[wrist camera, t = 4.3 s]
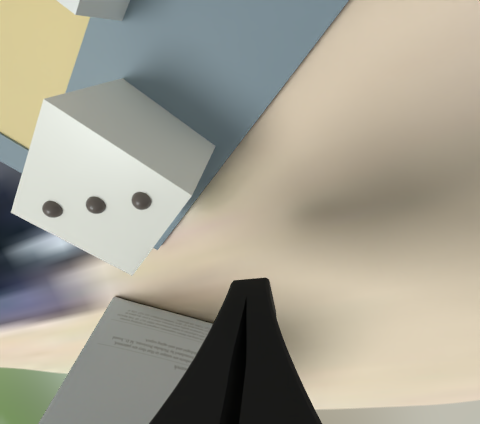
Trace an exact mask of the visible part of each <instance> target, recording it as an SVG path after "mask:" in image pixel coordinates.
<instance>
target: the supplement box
mask: <svg viewBox="0 0 480 424" xmlns="http://www.w3.org/2000/svg"><path fill="white" fill-rule="evenodd" d="M212 325H213V324H212V323H208V322H205V321H201V320H197V319H194V318H190V317H186V316H183V315H179V314H175V313H172V312H168V311H164V310H161V309H157V308H153V307H150V306H146V305H142V304H138V303H135V302H131V301H127V300H124V299H121V298H118V297H114V298H113V299H112V301H111V302H110V304H109V306H108V307H107V309H106V311H105V312H104V314H103V316H102V318H101V319H100V321H99V323H98V324H97V326H96V328H95V329H94V331H93V333H92V334H91V336H90V338H89V339H88V341H87V343H86V345H85V346H84V348H83V350H82V351H81V353H80V355H79V356H78V358H77V360H76V361H75V363H74V365H73V366H72V368H71V370H70V371H69V373H68V375H67V377H66V378H65V380H64V382H63V383H62V385H61V387H60V388H59V390H58V392H57V393H56V395H55V397H54V398H53V400H52V402H51V403H50V405H49V407H48V408H47V410H46V412H45V414H44V415H43V417H42V418H41V420H40V422H39V423H38V424H149V423H150V421H151V420H152V419H153V417H154V416H155V415H156V414H157V412H158V411H159V409H160V408H161V407H162V405H163V404H164V403H165V401H166V400H167V398H168V397H169V396H170V394H171V393H172V391H173V390H174V389H175V387H176V386H177V384H178V383H179V381H180V380H181V378H182V377H183V375H184V374H185V372H186V370H187V369H188V367H189V366H190V364H191V362H192V361H193V359H194V358H195V356H196V354H197V352H198V351H199V349H200V347H201V345H202V344H203V342H204V340H205V338H206V337H207V335H208V333H209V331H210V329H211V327H212Z"/></svg>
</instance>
